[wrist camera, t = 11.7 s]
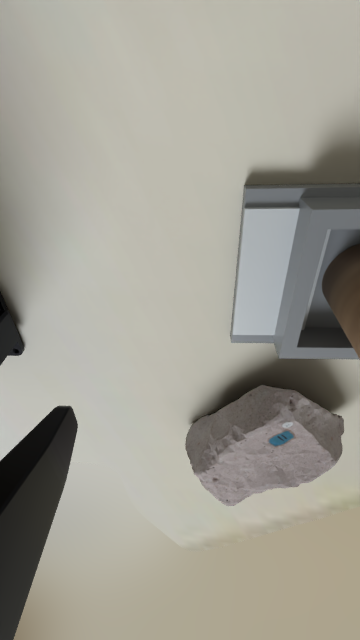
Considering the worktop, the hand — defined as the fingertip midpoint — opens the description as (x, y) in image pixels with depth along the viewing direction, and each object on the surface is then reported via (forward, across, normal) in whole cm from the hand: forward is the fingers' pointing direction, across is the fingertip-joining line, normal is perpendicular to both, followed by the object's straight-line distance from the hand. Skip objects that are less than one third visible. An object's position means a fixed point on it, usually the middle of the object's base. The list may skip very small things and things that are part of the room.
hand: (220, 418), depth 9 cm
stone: (+14, -5, +17) cm, 23 cm away
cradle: (+13, -10, +2) cm, 17 cm away
